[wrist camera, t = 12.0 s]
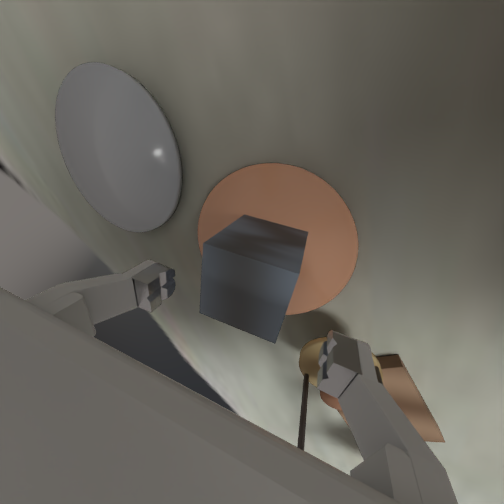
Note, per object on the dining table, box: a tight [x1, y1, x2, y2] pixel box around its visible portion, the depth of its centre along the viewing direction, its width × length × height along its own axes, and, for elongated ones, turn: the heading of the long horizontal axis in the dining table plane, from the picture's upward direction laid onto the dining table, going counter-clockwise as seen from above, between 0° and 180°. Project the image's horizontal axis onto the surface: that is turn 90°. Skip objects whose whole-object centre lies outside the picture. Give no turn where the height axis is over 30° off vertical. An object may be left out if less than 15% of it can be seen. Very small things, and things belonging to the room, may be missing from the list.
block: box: [200, 214, 308, 343], centre depth 13 cm, size 5×5×6 cm
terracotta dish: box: [198, 163, 358, 315], centre depth 16 cm, size 13×13×1 cm
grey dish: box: [55, 62, 182, 232], centre depth 17 cm, size 13×13×1 cm
